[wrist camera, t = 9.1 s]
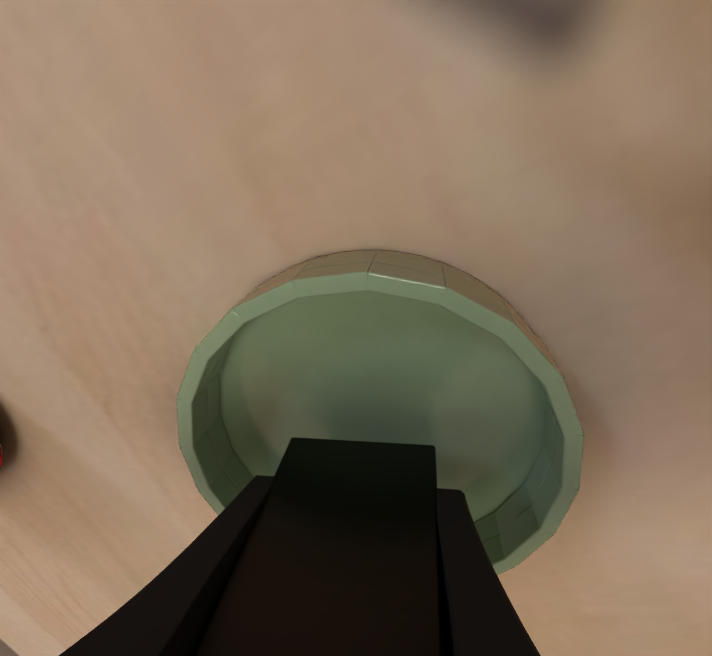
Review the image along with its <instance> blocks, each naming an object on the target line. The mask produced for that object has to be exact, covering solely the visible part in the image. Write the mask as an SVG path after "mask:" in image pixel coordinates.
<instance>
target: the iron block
mask: <svg viewBox="0 0 712 656" xmlns="http://www.w3.org/2000/svg"><path fill="white" fill-rule="evenodd" d="M271 484H272V486H271V488H270V490H269V492H268V495H267V497H266V499H265V501H264V504H263V506H262V508H261V510H260V511H259V513H258V515H257V517H256V519H255V521H254V523H253V525H252V527H251V528H250V531H249V533H248V535H247V537H246V539H245V542H244V544H243V546H242V548H241V551H240V553H239V555H238V557H237V559H236V562H235V564H234V566H233V568H232V571H231V573H230V575H229V577H228V579H227V582H226V584H225V586H224V588H223V591H222V593H221V595H220V597H219V599H218V602H217V604H216V606H215V608H214V611H213V613H212V615H211V617H210V619H209V622H208V624H207V626H206V628H205V631H204V633H203V635H202V637H201V639H200V642H199V644H198V646H197V648H196V651H195V653H194V655H193V656H444V639H443V614H442V590H441V565H440V540H439V531H438V523H437V506H436V495H437V466H436V448H435V446H434V445H423V444H405V443H388V442H370V441H352V440H334V439H316V438H298V437H293V438H291V439H290V442H289V444H288V446H287V448H286V451H285V453H284V455H283V457H282V459H281V462H280V464H279V466H278V468H277V471H276V473H275V475H274V477H273V479H272V482H271Z"/></svg>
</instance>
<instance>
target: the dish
mask: <svg viewBox="0 0 712 656" xmlns="http://www.w3.org/2000/svg"><path fill="white" fill-rule="evenodd" d="M177 417H178V436H179V445H180V449H181V451H182V454H183V456H184V458H185V461H186V463H187V466H188V468H189V470H190V473H191V475H192V478H193V480H194V482H195V485H196V487H197V489H198V491H199V492H200V494H201V495H202V496H203V497H204V499H205V500H206V501H207V502H208V504H209V505H210V506H211V507H212V509H213V510H214V511H215V512H216V513H217V515H219V514H220V513H221V512H222V511H223V510H224V509H225V508H226V507H227V506H228V505H229V504H230V503H231V501H232V500H233V499H234V498H235V497H236V496H237V495H238V494H239V493H240V492H241V491H242V490H243V488H244V487H245V486H246V485H247V484H248V483H249V482H250V481H251V480H252V479H253V478H254V477H255V476H256V475H262V476H274V475H275V473H276V471H277V468H278V466H279V464H280V462H281V459H282V457H283V455H284V453H285V451H286V448H287V446H288V444H289V442H290V439H291V438H293V437H298V438H316V439H334V440H352V441H370V442H388V443H405V444H423V445H434V446H435V448H436V466H437V488H442V489H456V490H461V491H462V492H463V493H464V494H465V497H466V501H467V504H468V507H469V511H470V513H471V516H472V519H473V522H474V524H475V527H476V529H477V532H478V534H479V537H480V539H481V542H482V544H483V546H484V548H485V551H486V553H487V555H488V557H489V559H490V561H491V564H492V566H493V568H494V570H495V572H496V574H497V575H498V574H500V573H503V572H505V571H508V570H510V569H512V568H514V567H515V566H517V565H519V564H520V563H521V562H522V561H523V560H525V559H526V558H527V557H528V556H529V555H531V554H532V553H533V552H534V551H535V550H537V549H538V548H539V547H540V546H541V545H542V544H544V543H545V542H546V541H547V540H548V539H550V538H551V537H552V536H553V535H554V533H556V531H557V529H558V527H559V526H560V524H561V522H562V520H563V518H564V517H565V515H566V513H567V511H568V509H569V508H570V506H571V504H572V502H573V500H574V499H575V497H576V495H577V493H578V491H579V488H580V479H581V467H582V455H583V443H584V435H583V433H584V432H583V429H582V427H581V424H580V421H579V418H578V416H577V413H576V410H575V407H574V405H573V402H572V399H571V396H570V394H569V391H568V388H567V385H566V382H565V380H564V378H563V376H562V374H561V373H560V371H559V369H558V368H557V366H556V364H555V363H554V361H553V359H552V358H551V356H550V354H549V353H548V351H547V349H546V348H545V346H544V344H543V343H542V342H541V340H540V339H539V338H538V337H537V336H536V335H535V334H534V333H533V332H532V330H531V329H530V327H529V325H528V324H527V323H526V322H525V321H524V319H523V318H522V317H521V316H520V315H519V314H518V312H517V311H516V310H515V309H514V308H513V307H512V306H511V305H510V304H509V303H508V302H507V301H505V300H504V299H503V298H502V297H501V296H500V295H498V294H497V293H496V292H495V291H494V290H493V289H491V288H490V287H488V286H486V285H485V284H483V283H482V282H480V281H479V280H477V279H475V278H474V277H472V276H471V275H469V274H467V273H464V272H462V271H460V270H458V269H456V268H454V267H452V266H449V265H447V264H445V263H441V262H438V261H435V260H432V259H429V258H426V257H422V256H418V255H413V254H407V253H402V252H396V251H381V250H360V251H348V252H339V253H335V254H330V255H326V256H321V257H317V258H314V259H311V260H308V261H306V262H303V263H300V264H298V265H295V266H293V267H291V268H289V269H287V270H285V271H284V272H282V273H280V274H278V275H276V276H274V277H273V278H272V279H270V280H269V281H267V282H265V283H263V284H261V285H259V286H258V287H256V288H255V289H254V290H253V291H252V292H251V293H250V294H248V295H247V296H246V297H245V298H244V299H243V300H241V301H240V302H239V303H238V304H237V305H236V306H234V307H233V308H232V309H231V310H230V311H229V312H228V313H227V314H226V315H225V317H224V318H223V319H222V320H221V321H220V322H219V323H218V324H217V325H216V326H215V327H214V328H213V329H212V331H211V332H210V333H209V334H208V335H207V336H206V337H205V338H204V339H203V340H202V341H201V342H200V343H199V345H198V346H197V347H196V348H195V350H194V351H193V353H192V356H191V359H190V362H189V365H188V367H187V370H186V373H185V376H184V379H183V381H182V384H181V387H180V390H179V393H178V396H177Z"/></svg>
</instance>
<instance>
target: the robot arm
mask: <svg viewBox="0 0 712 656" xmlns="http://www.w3.org/2000/svg"><path fill="white" fill-rule="evenodd" d="M273 477H274V476H262V475H256V476H255V477H254V478H253V479H252V480H251V481H250V482H249V483H248V484H247V485H246V486H245V487H244V488H243V490H242V491H241V492H240V493H239V494H238V495H237V496H236V497H235V498H234V499H233V500H232V501H231V503H230V504H229V505H228V506H227V507H226V508H225V509H224V510H223V511H222V512H221V513H220V514H219V515H218V516H217V518H216V519H215V520H214V521H213V522H212V523H211V524H210V525H209V526H208V527H207V528H206V529H205V530H204V531H203V532H202V533H201V534H200V535H199V536H198V537H197V538H196V539H195V540H194V541H193V542H192V543H191V544H190V545H189V546H188V547H187V548H186V549H185V550H184V551H183V552H182V553H181V554H180V555H179V556H178V557H177V558H176V559H174V560H173V561H172V562H171V563H170V564H169V565H168V566H167V567H166V568H165V569H164V570H163V571H162V572H161V573H160V574H159V575H158V576H156V577H155V578H154V579H153V580H152V581H151V582H150V583H149V584H148V585H146V586H145V587H144V588H143V589H142V590H141V591H140V592H138V593H137V594H136V595H135V596H134V597H133V598H131V599H130V600H129V601H128V602H127V603H125V604H124V605H123V606H122V607H121V608H120V609H118V610H117V611H116V612H115V613H113V614H112V615H111V616H110V617H108V618H107V619H106V620H105V621H103V622H102V623H101V624H100V625H98V626H97V627H96V628H94V629H93V630H92V631H91V632H89V633H88V634H87V635H85V636H84V637H83V638H81V639H80V640H79V641H78V642H76V643H75V644H74V645H72V646H71V647H70V648H68V649H67V650H66V651H64V652H63V653H62V654H60V655H59V656H193V655H194V653H195V651H196V648H197V646H198V644H199V642H200V639H201V637H202V635H203V633H204V631H205V628H206V626H207V624H208V622H209V619H210V617H211V615H212V613H213V611H214V608H215V606H216V604H217V602H218V599H219V597H220V595H221V593H222V591H223V588H224V586H225V584H226V582H227V579H228V577H229V575H230V573H231V571H232V568H233V566H234V564H235V562H236V559H237V557H238V555H239V553H240V551H241V548H242V546H243V544H244V542H245V539H246V537H247V535H248V533H249V531H250V528H251V527H252V525H253V523H254V521H255V519H256V517H257V515H258V513H259V511H260V510H261V508H262V506H263V504H264V501H265V499H266V497H267V495H268V492H269V490H270V488H271V486H272V484H271V482H272V479H273ZM436 506H437V523H438V531H439V540H440V565H441V590H442V614H443V639H444V656H540V654H539V652H538V651H537V649H536V647H535V645H534V644H533V642H532V640H531V638H530V637H529V635H528V633H527V631H526V630H525V628H524V626H523V624H522V623H521V621H520V619H519V617H518V615H517V613H516V611H515V609H514V608H513V606H512V604H511V602H510V600H509V598H508V596H507V594H506V592H505V590H504V588H503V586H502V584H501V583H500V580H499V578H498V576H497V574H496V572H495V570H494V568H493V566H492V564H491V561H490V559H489V557H488V555H487V553H486V551H485V548H484V546H483V544H482V542H481V539H480V537H479V534H478V532H477V529H476V527H475V524H474V522H473V519H472V516H471V513H470V511H469V507H468V504H467V501H466V497H465V494H464V493H463V492H462V491H461V490H456V489H442V488H437V495H436Z"/></svg>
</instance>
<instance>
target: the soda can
mask: <svg viewBox="0 0 712 656" xmlns="http://www.w3.org/2000/svg"><path fill="white" fill-rule="evenodd" d="M1 465H2V449H1V445H0V468H1Z"/></svg>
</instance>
